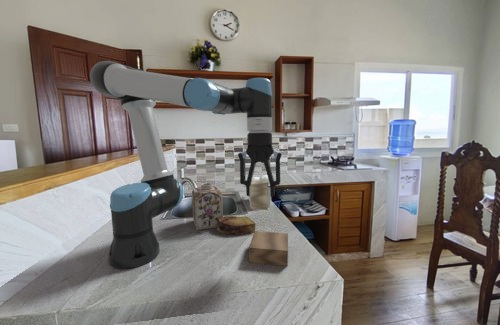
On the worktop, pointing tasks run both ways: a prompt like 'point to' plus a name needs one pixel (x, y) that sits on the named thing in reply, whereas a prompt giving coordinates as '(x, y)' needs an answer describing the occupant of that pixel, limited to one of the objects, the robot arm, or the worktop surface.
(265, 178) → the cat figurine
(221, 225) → the stone
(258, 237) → the plinth
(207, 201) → the decorative jar
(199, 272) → the worktop surface
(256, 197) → the oak block
